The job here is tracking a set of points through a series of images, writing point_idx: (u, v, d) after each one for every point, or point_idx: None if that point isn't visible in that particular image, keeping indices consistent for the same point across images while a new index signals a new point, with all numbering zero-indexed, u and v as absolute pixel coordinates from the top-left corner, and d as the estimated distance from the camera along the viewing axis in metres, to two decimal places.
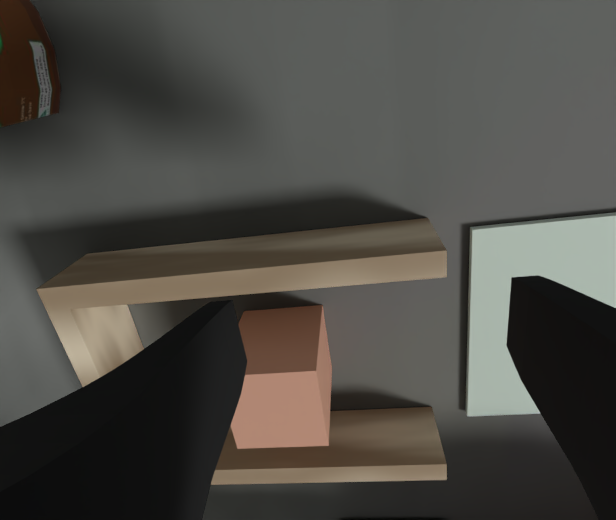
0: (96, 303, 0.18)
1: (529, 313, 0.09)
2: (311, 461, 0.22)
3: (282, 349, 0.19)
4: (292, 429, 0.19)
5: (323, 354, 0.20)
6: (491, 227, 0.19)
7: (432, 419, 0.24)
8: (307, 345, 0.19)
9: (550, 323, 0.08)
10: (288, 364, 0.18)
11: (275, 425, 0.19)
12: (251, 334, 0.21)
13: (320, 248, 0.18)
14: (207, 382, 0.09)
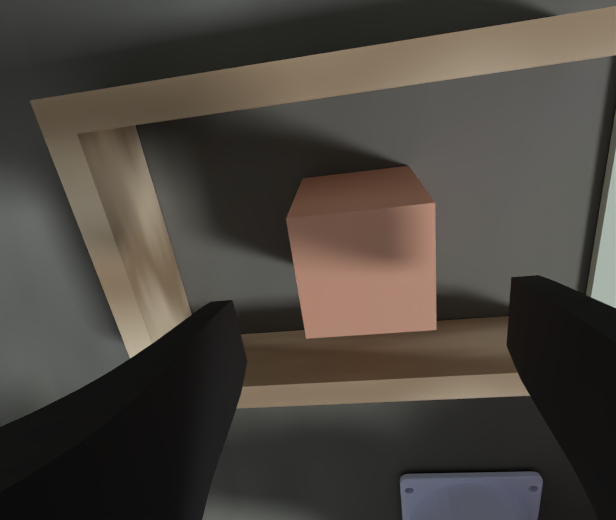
0: (114, 121, 0.13)
1: (529, 313, 0.09)
2: (393, 372, 0.17)
3: (372, 194, 0.14)
4: (388, 304, 0.13)
5: None
6: None
7: None
8: (407, 188, 0.14)
9: (550, 323, 0.08)
10: (389, 202, 0.13)
11: (363, 298, 0.13)
12: (322, 189, 0.15)
13: None
14: (207, 382, 0.09)
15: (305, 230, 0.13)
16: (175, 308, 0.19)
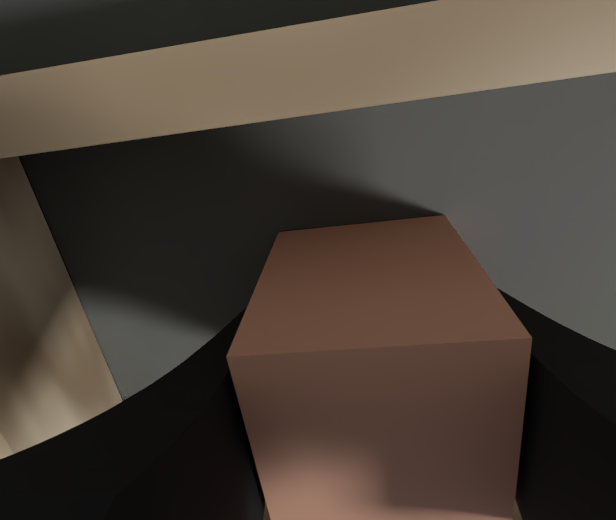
0: None
1: None
2: None
3: (393, 290, 0.07)
4: (424, 497, 0.07)
5: None
6: None
7: None
8: (457, 279, 0.07)
9: None
10: (432, 322, 0.06)
11: (378, 485, 0.07)
12: (305, 265, 0.09)
13: None
14: None
15: (266, 377, 0.06)
16: (94, 416, 0.13)
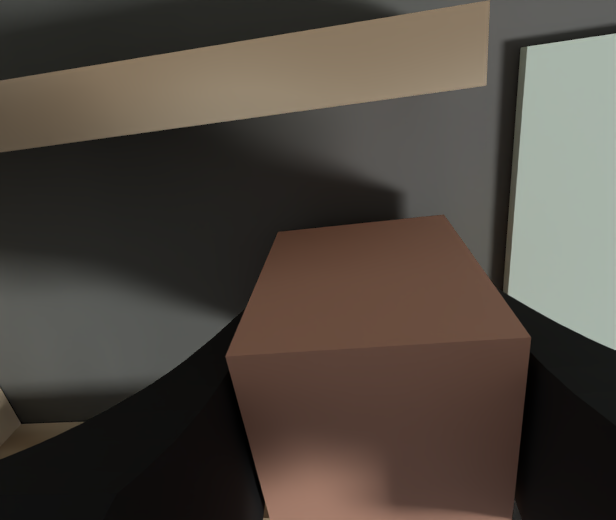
0: None
1: None
2: None
3: (392, 289, 0.07)
4: (423, 496, 0.07)
5: None
6: None
7: None
8: (457, 279, 0.07)
9: None
10: (432, 322, 0.06)
11: (377, 485, 0.07)
12: (304, 265, 0.09)
13: None
14: None
15: (265, 376, 0.06)
16: None
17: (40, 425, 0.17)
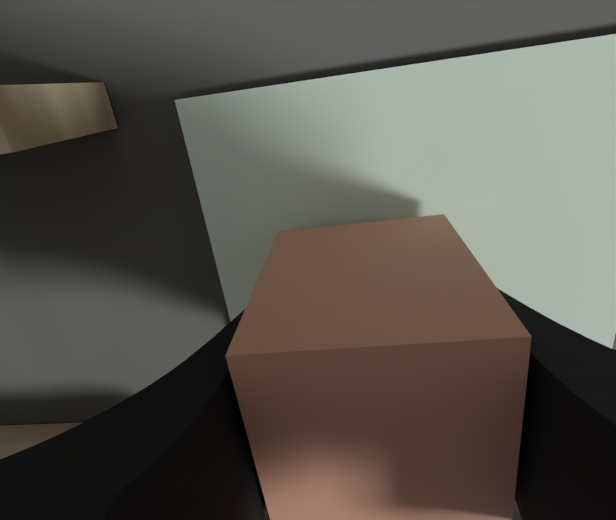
0: None
1: None
2: None
3: (393, 289, 0.07)
4: (423, 495, 0.07)
5: None
6: (207, 95, 0.10)
7: None
8: (457, 278, 0.07)
9: None
10: (432, 320, 0.06)
11: (377, 485, 0.07)
12: (304, 264, 0.09)
13: None
14: None
15: (265, 376, 0.06)
16: None
17: None
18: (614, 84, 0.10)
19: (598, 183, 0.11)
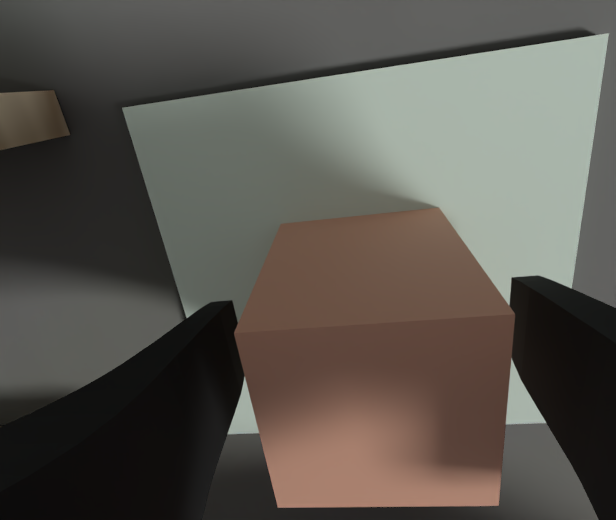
0: None
1: (529, 313, 0.09)
2: None
3: (389, 274, 0.08)
4: (416, 466, 0.08)
5: None
6: (153, 103, 0.11)
7: None
8: (449, 265, 0.08)
9: (550, 323, 0.08)
10: (425, 301, 0.07)
11: (374, 457, 0.08)
12: (306, 253, 0.09)
13: None
14: (207, 382, 0.09)
15: (270, 352, 0.07)
16: None
17: None
18: (548, 92, 0.10)
19: (538, 188, 0.11)
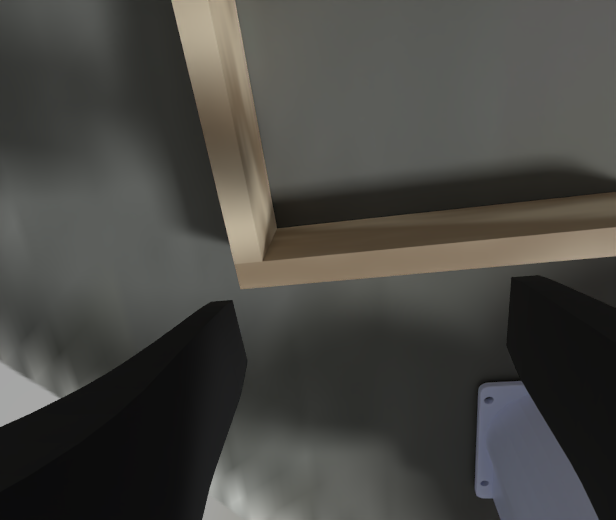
0: None
1: (529, 313, 0.09)
2: (507, 233, 0.16)
3: None
4: None
5: None
6: None
7: None
8: None
9: (550, 323, 0.08)
10: None
11: None
12: None
13: None
14: (207, 382, 0.09)
15: None
16: (262, 184, 0.18)
17: (296, 227, 0.20)
18: None
19: None
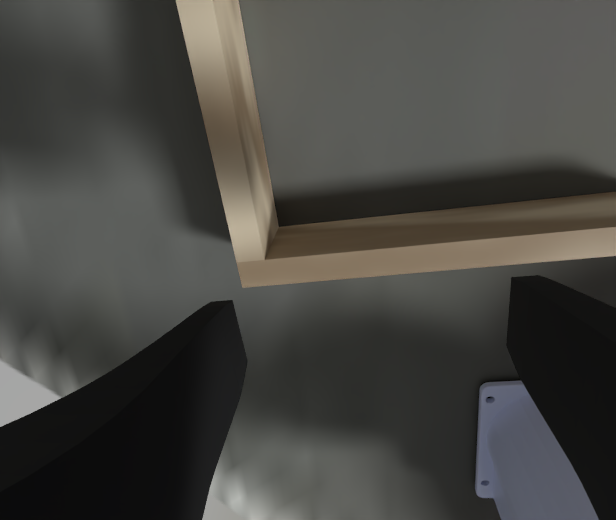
0: None
1: (529, 313, 0.09)
2: (511, 232, 0.16)
3: None
4: None
5: None
6: None
7: None
8: None
9: (550, 323, 0.08)
10: None
11: None
12: None
13: None
14: (207, 382, 0.09)
15: None
16: (264, 182, 0.18)
17: (297, 225, 0.20)
18: None
19: None
